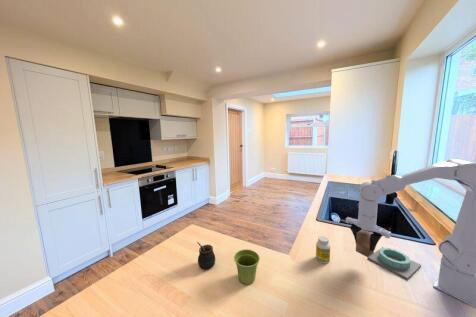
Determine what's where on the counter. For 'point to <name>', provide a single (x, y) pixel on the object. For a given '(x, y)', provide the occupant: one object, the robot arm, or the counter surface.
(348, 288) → the counter surface
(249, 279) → the plant pot
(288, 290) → the counter surface
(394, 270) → the collar
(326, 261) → the supplement bottle
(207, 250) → the mate gourd
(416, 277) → the counter surface
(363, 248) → the walnut peg
